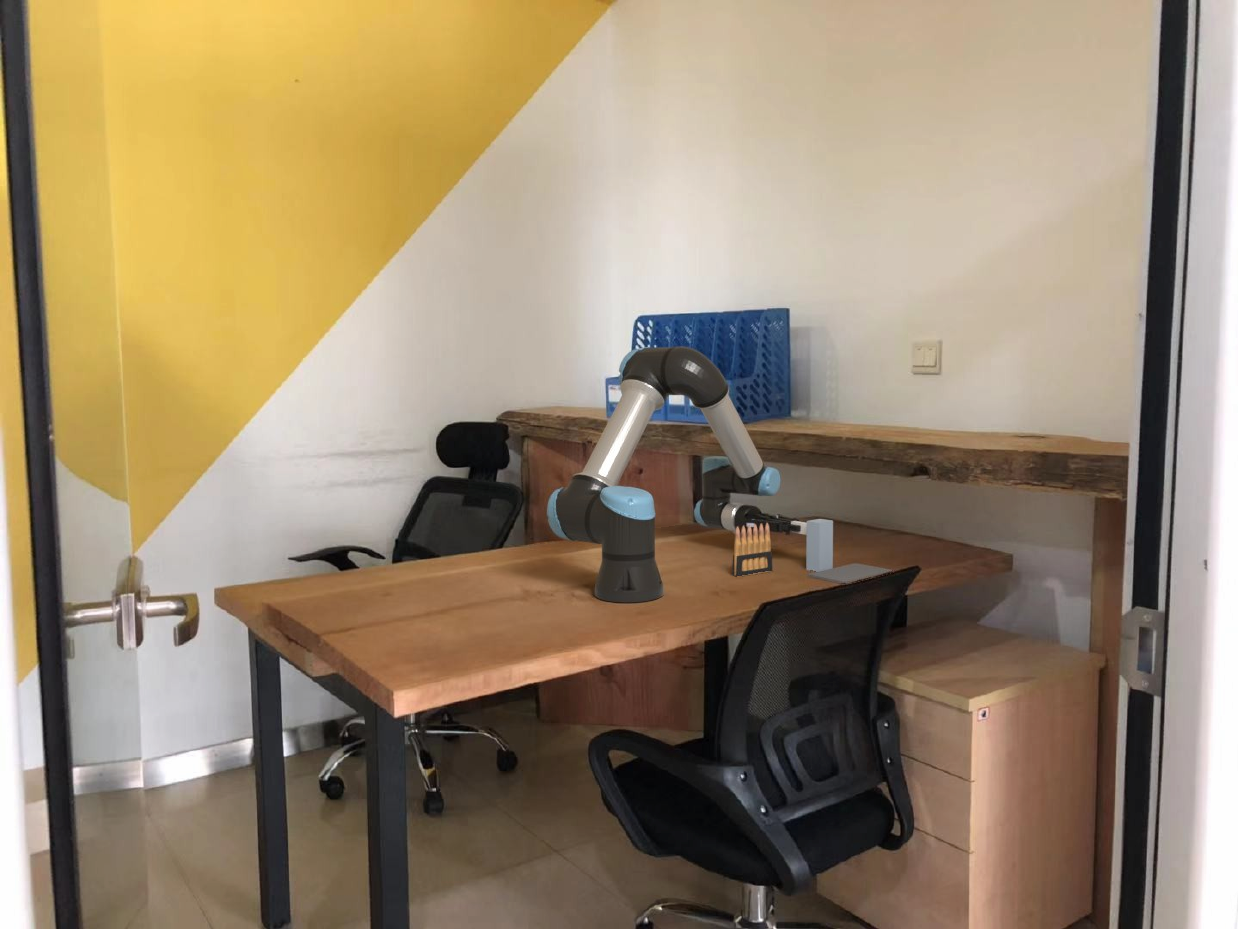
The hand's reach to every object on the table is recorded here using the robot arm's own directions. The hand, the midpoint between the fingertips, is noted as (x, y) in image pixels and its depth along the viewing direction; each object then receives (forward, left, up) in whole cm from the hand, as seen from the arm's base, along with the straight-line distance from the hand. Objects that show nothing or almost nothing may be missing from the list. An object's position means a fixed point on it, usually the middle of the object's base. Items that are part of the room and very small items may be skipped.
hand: (813, 529), depth 231 cm
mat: (0, -11, -9) cm, 14 cm away
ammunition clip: (-16, +5, -10) cm, 19 cm away
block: (-1, -3, -9) cm, 10 cm away
